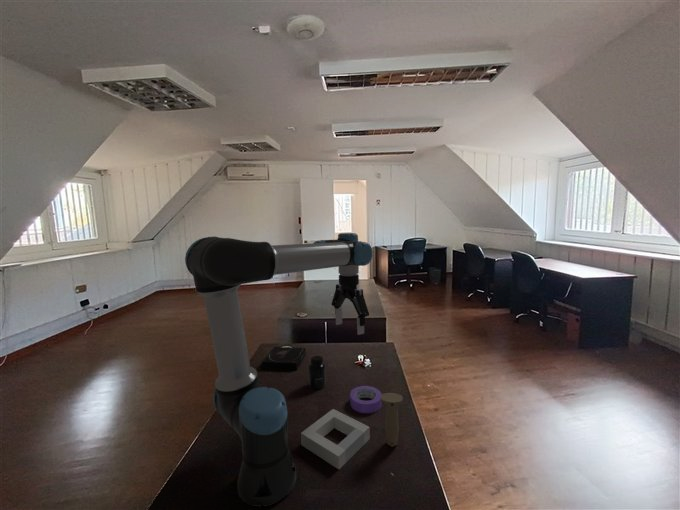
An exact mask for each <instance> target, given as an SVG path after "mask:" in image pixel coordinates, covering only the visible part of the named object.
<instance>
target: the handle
mask: <svg viewBox="0 0 680 510" xmlns="http://www.w3.org/2000/svg"><path fill="white" fill-rule="evenodd" d="M381 394H382V395H381V402H382V405H385V423H384V425H385V426H384V428H385V429H384V431H385V438H386V445H388V446H389V447H391V448H393V447H397V446H398V443H399V442H398V439H399V433H400V432H399V431H400V430H399V429H400V428H399V427H400V426H399V415H398V414H399V412H398V411H399V409H398V406H401V405H402V404H403V402H404V400H403V398H404V397H403V395H401V394H400V393H396V392H386V393H381Z"/></svg>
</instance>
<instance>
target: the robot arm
mask: <svg viewBox="0 0 680 510" xmlns="http://www.w3.org/2000/svg"><path fill="white" fill-rule="evenodd" d="M372 259H373V247H372V246H371V245H370V244H369V243H368V242H366V241H362V240H360V241H359V236H358V234H357V233H355V232H342V233H338V235H337V239H320V240H316V241H314V242H313V243H299V244H298V243H297V244H275V245H273V244H272V245H271V243H270V242H268V241H249V240H241V239H237V238H231V237H219V236H216V235H215V236H207V237H202V238H199V239H196V241H193V243H191V245H190V246H189V247H188V249H187V251H186V253H185V257H184V261H185V266H186V268H187V270H188V272H189V273H190V275H192V278H193V281H194V288H195V292H196V293H197V294H199V296H202V297H203V299H204V305H205V309H206V315H207V321H208V325H209V330H210V331H209V332H210V335H211V340H212V346H213V350H214V351H213V352H214V356H215V361H216V366H217V371H218V376H217V378H216V380H215V381H214V387H215V389H214V390H213V395H212V398H213V399H212V400H213V405H214V407H215V409H216V411H217V413H218V414H219V416H220V417H222V418H223V419H224V420H225V421H226V422H227V424H229V426H230V427H231V428H232V429H233V431H234V432H235V433H236V434H237V435H238V437H240V441H241V452H242V460H241V465H240V469H239V473H238V476H237V479H236V480H237V481H236V483H237V495H238V497H239V499H240V498H241V499H240V500H241V501H242V502H243V503H244V502H245V503H247V504H250V505H258V506H259V505H260V506H264V505H269V504H272V503H274V502H277V501H279V500H280V499H282V498H284V497H285V496H286V495H287V496H289V495H290V493H291V492H292V491H293V489H294V488H295V485H296V483H297V466H296V463H295V461H294V458H293V455H292V453H291V451H290V448H289V432H288V431H289V429H288V407H287V402H286V398H285V396H284V395H283V393H282V392H281V391H280V390H278V389H276V388H273V387H269V388H268V387H267V386H262V387H261V386H260V383H259V376H258V371H257V370H256V368H254V367H252V366H251V364H250V363H251V362H250V357H249V352H248V351H249V350H248V345H247V339H246V333H245V327H244V321H243V315H242V310H241V305H240V298H239V292H238V289H239V288H240V287H241V285H246V284H251V283H257V282H263V281H269V280H271V279H272V278H273V277H274V276H276V275H284V274H293V273H297V272H298V273H301V272H306V271H307V272H309V271H314V270H315V271H316V270H322V269H323V270H324V269H330V268H338V274H339V275H338V284H335V290H334V294H333V297H332V300H331V306H332V307H333V308H334V313H335V314H334V315H335V325H336V326H338V325H342V324H343V307H342V306H343V304H344V301H345V300H346V299H347V300H349V301H350V302H351V303H352V304H353V307H354V309H355V312H356V314H357V317H356V325H357V326H356V331H357V332H356V333H357V335H358V336H360V335H364V334H365V325H366V318H367V317H369V316H370V312H369V308H368V306H367V302H366V299H365V295H364V290H363V289H362V288H361V289H358V287H357V286H358V285H359V283H360V279H359V277H360V276H359V273H360V272H359V267H362V266H363V267H365V266H367V265H368V264H370V263H371V261H372ZM287 496H286V497H287ZM286 497H285V498H286ZM285 498H284V499H285ZM245 503H244V504H245ZM247 504H246V505H247Z"/></svg>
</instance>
